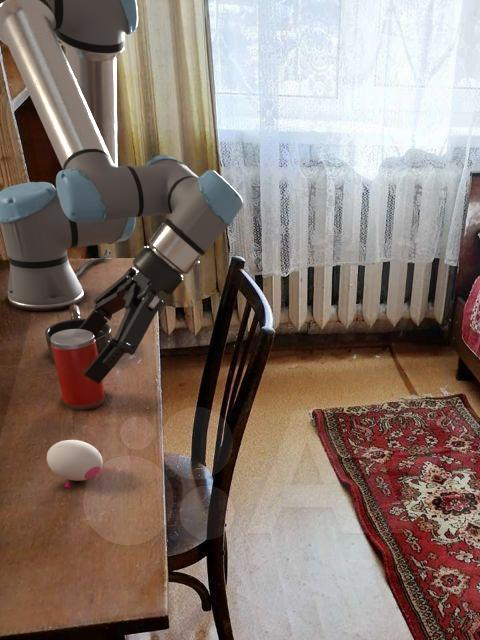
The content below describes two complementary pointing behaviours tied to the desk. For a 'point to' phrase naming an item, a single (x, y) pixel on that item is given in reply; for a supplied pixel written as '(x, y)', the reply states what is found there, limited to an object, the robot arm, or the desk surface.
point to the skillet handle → (74, 312)
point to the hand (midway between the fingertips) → (83, 361)
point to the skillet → (100, 338)
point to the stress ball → (74, 460)
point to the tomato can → (76, 368)
